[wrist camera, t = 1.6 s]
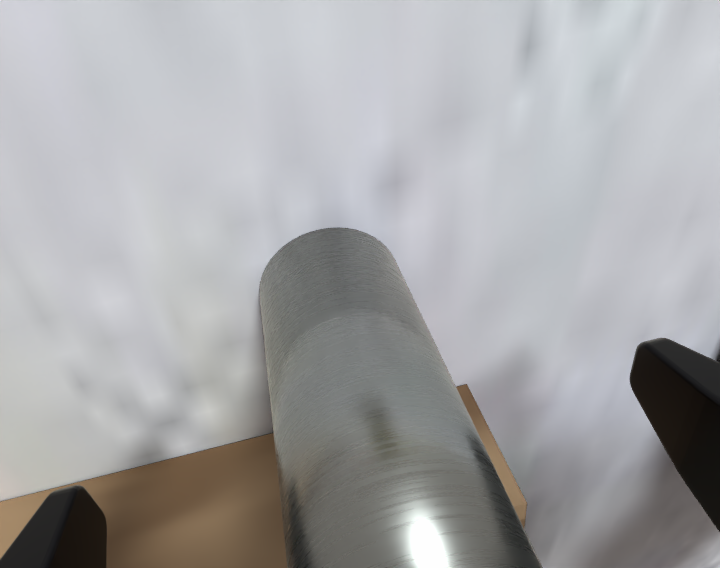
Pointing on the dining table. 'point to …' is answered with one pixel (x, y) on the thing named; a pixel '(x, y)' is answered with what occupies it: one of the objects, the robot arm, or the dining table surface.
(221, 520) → the crate
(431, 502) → the peg
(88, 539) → the robot arm
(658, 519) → the dining table surface
